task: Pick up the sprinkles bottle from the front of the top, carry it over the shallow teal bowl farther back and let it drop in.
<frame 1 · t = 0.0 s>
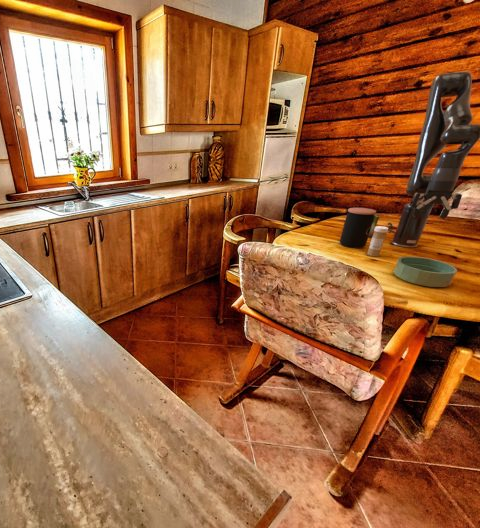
hand: (428, 217, 120), 17 cm above the table, tool pointing down, fingers open, 8 cm apart
shallow teal bowl: (420, 278, 106), on the table
sprinkles bottle: (372, 255, 128), on the table
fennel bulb: (368, 236, 151), on the table
coffee jar: (351, 245, 141), on the table
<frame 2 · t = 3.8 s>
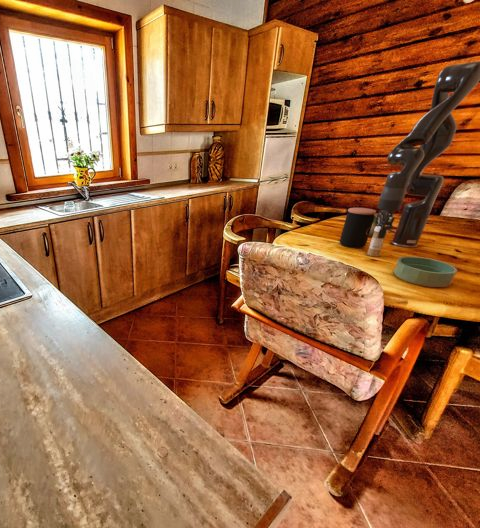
hand: (379, 235, 124), 9 cm above the table, tool pointing down, fingers closed on sprinkles bottle, 4 cm apart
sprinkles bottle: (372, 255, 128), on the table, touching gripper
everything else where it was.
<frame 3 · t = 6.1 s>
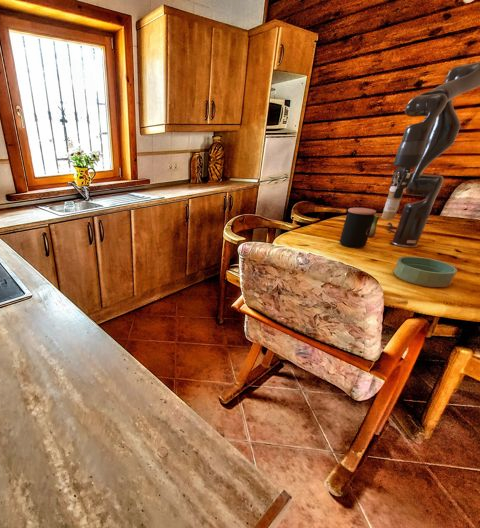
hand: (394, 196, 116), 27 cm above the table, tool pointing down, fingers closed on sprinkles bottle, 4 cm apart
sprinkles bottle: (387, 218, 120), point 18 cm above the table, touching gripper
everything else where it was.
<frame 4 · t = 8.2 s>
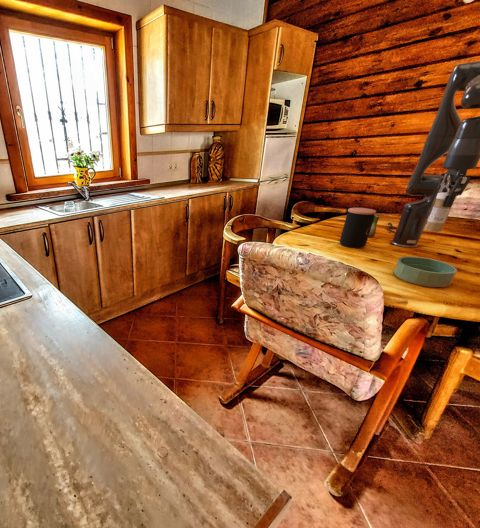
hand: (443, 205, 97), 28 cm above the table, tool pointing down, fingers closed on sprinkles bottle, 4 cm apart
sprinkles bottle: (432, 230, 101), point 18 cm above the table, touching gripper
everything else where it was.
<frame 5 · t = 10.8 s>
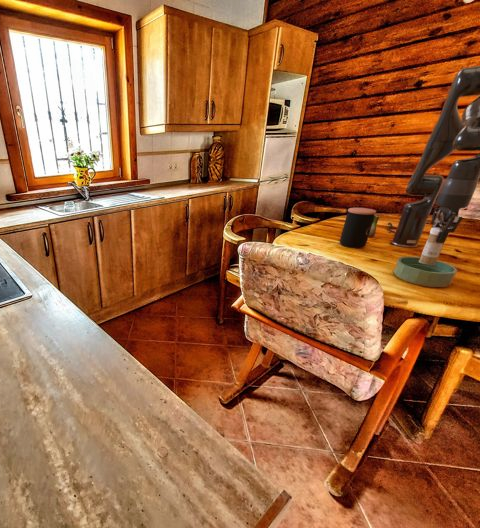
hand: (436, 239, 100), 16 cm above the table, tool pointing down, fingers closed on sprinkles bottle, 4 cm apart
sprinkles bottle: (426, 263, 104), point 6 cm above the table, touching gripper
everything else where it was.
when the fingers open (10 cm above the table, at t = 12.7 s): sprinkles bottle stays where it is, resting on shallow teal bowl.
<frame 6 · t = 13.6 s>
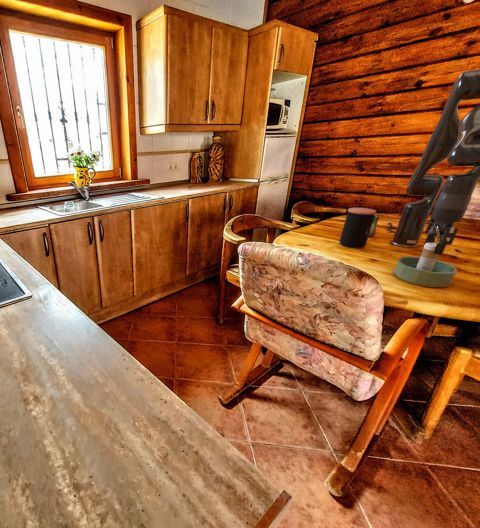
hand: (432, 249, 101), 12 cm above the table, tool pointing down, fingers open, 8 cm apart
sprinkles bottle: (420, 277, 106), resting on shallow teal bowl
everything else where it was.
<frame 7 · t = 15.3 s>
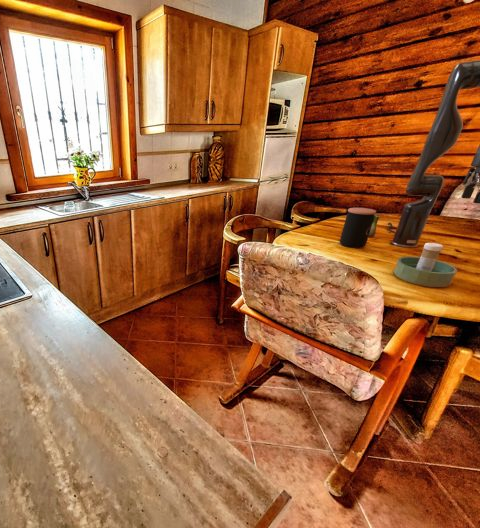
hand: (471, 200, 98), 29 cm above the table, tool pointing down, fingers open, 8 cm apart
nothing on the table moved.
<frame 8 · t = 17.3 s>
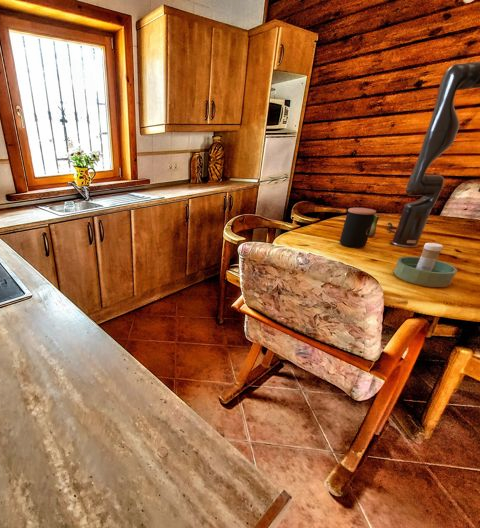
nothing on the table moved.
at the end: sprinkles bottle inside the target area in the shallow teal bowl (0.1 cm from its centre), point 0.4 cm above the shallow teal bowl's base; the gripper is holding nothing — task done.
